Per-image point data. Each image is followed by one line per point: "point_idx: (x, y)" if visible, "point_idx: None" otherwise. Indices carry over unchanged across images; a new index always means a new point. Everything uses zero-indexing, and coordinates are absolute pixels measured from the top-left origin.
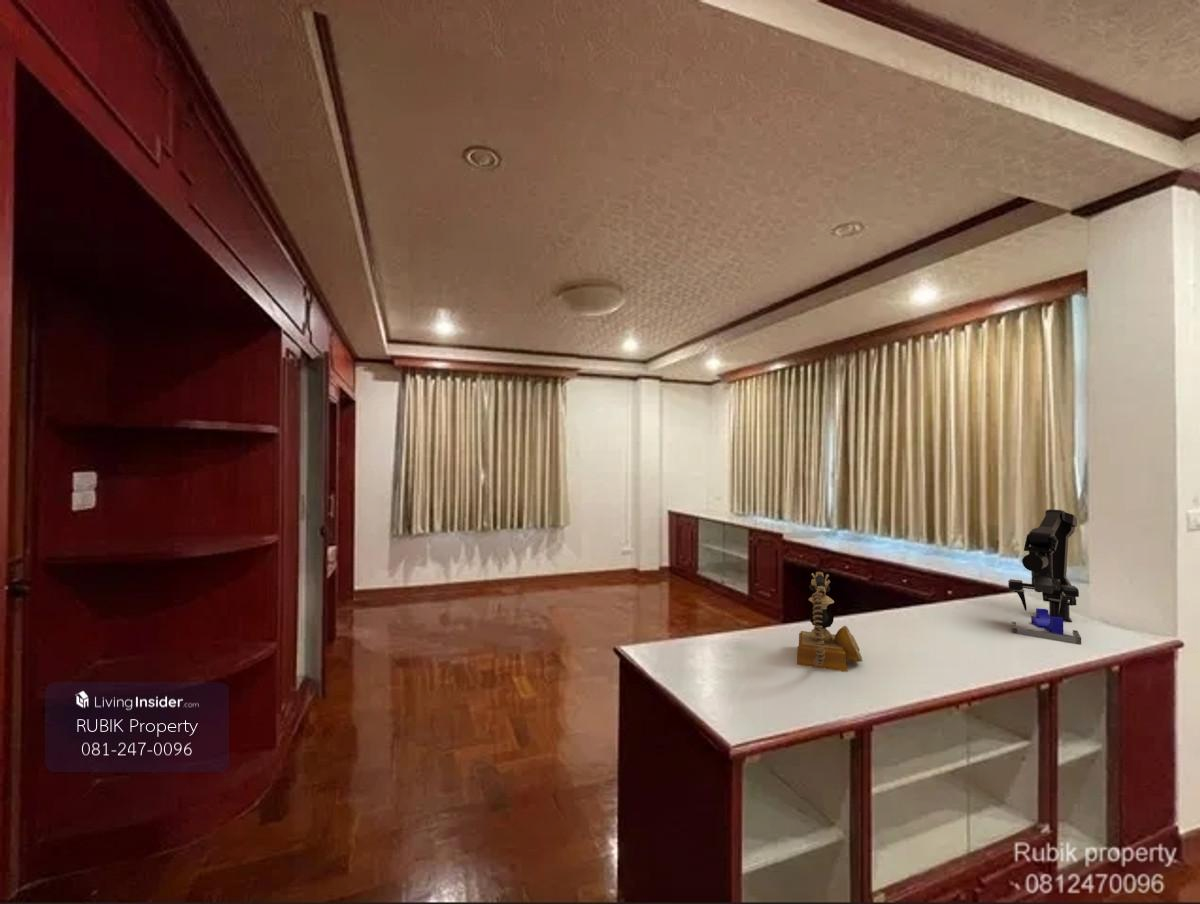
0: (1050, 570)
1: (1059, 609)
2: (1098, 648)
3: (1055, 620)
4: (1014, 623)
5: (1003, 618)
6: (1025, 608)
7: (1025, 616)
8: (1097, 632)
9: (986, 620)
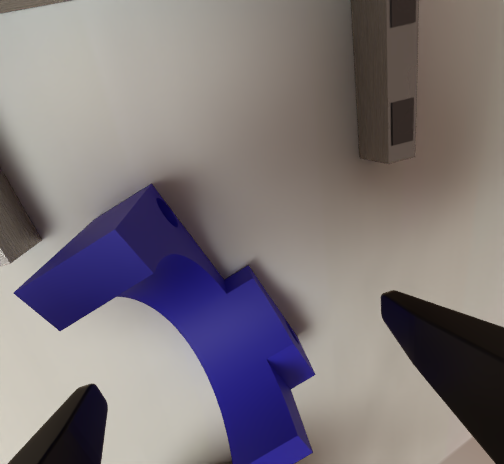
0: None
1: (54, 449)
2: None
3: (97, 232)
4: (400, 99)
5: None
6: (405, 300)
7: (331, 436)
8: (5, 445)
9: (496, 217)
